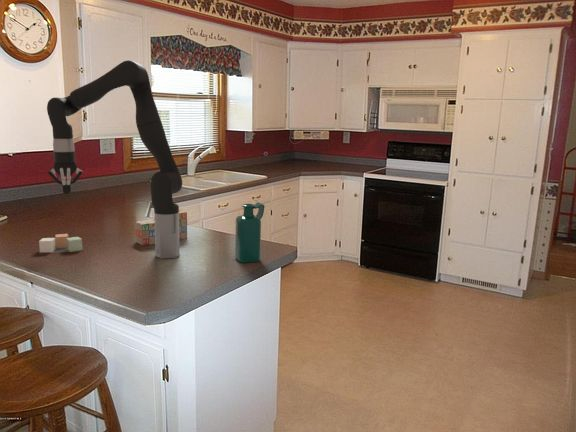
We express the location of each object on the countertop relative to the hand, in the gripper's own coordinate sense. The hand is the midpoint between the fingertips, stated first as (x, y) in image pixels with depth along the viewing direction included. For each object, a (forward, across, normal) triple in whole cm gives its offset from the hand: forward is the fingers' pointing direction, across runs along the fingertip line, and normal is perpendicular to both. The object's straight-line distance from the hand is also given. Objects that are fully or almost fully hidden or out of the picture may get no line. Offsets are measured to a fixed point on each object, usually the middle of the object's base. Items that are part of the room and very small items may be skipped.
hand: (67, 194), depth 188 cm
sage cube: (+21, +2, -8) cm, 22 cm away
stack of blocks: (+22, +36, +2) cm, 43 cm away
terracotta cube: (+21, -3, -2) cm, 21 cm away
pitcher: (+23, +66, -34) cm, 77 cm away
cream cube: (+21, -8, -7) cm, 23 cm away
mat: (+22, -3, -5) cm, 22 cm away
